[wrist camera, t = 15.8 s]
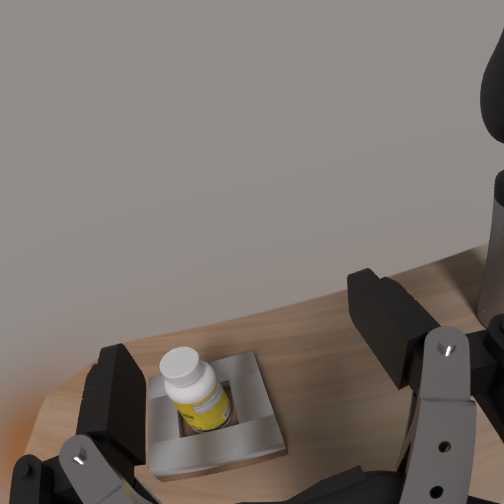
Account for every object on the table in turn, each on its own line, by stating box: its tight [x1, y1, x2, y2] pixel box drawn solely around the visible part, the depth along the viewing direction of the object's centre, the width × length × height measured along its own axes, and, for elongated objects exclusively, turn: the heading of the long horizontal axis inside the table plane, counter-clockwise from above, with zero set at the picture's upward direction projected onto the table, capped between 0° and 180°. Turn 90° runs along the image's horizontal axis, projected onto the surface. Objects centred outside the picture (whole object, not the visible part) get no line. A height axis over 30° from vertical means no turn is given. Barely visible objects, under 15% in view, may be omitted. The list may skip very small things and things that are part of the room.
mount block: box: [148, 350, 288, 482], centre depth 33 cm, size 14×14×3 cm
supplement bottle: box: [160, 347, 232, 433], centre depth 30 cm, size 5×5×10 cm
